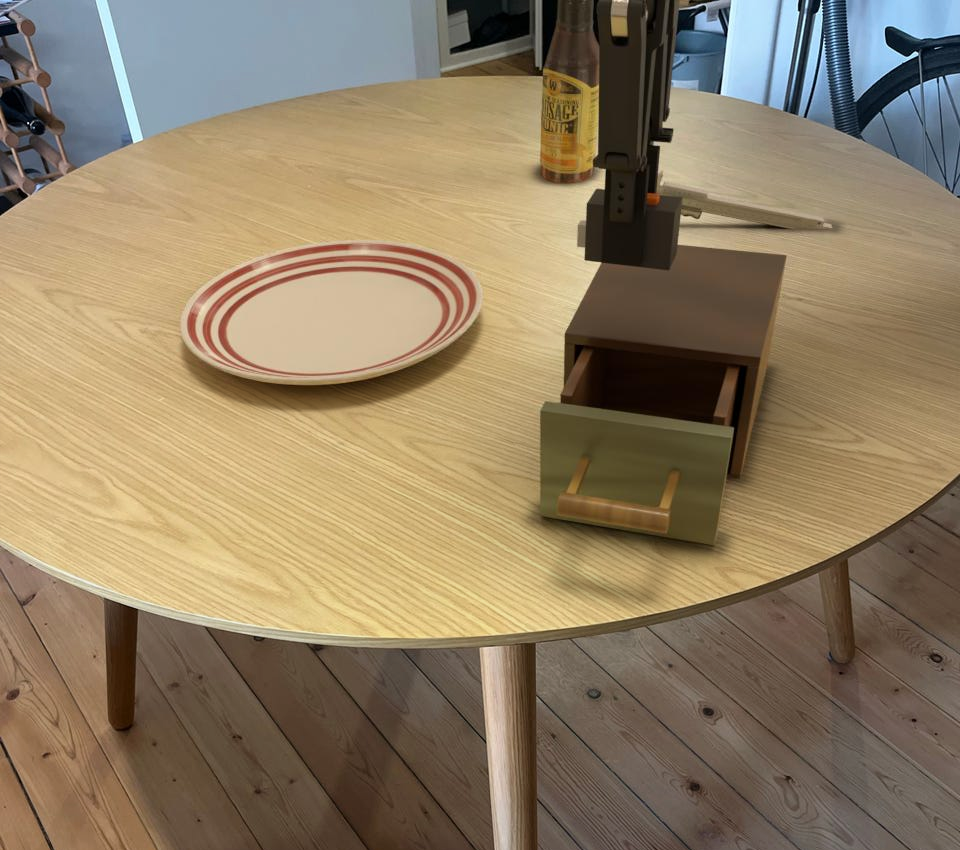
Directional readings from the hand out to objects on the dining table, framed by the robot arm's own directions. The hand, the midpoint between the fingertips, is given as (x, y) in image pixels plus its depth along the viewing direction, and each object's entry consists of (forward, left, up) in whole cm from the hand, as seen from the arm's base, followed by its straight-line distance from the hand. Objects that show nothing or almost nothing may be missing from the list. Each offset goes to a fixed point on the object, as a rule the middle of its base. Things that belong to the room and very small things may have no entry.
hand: (627, 251), depth 71 cm
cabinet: (-4, -3, -15) cm, 15 cm away
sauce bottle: (+16, -48, -15) cm, 53 cm away
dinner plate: (+28, -9, -15) cm, 33 cm away
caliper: (-4, -38, -15) cm, 41 cm away
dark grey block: (0, 0, 0) cm, 0 cm away
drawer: (-4, +9, -14) cm, 17 cm away
